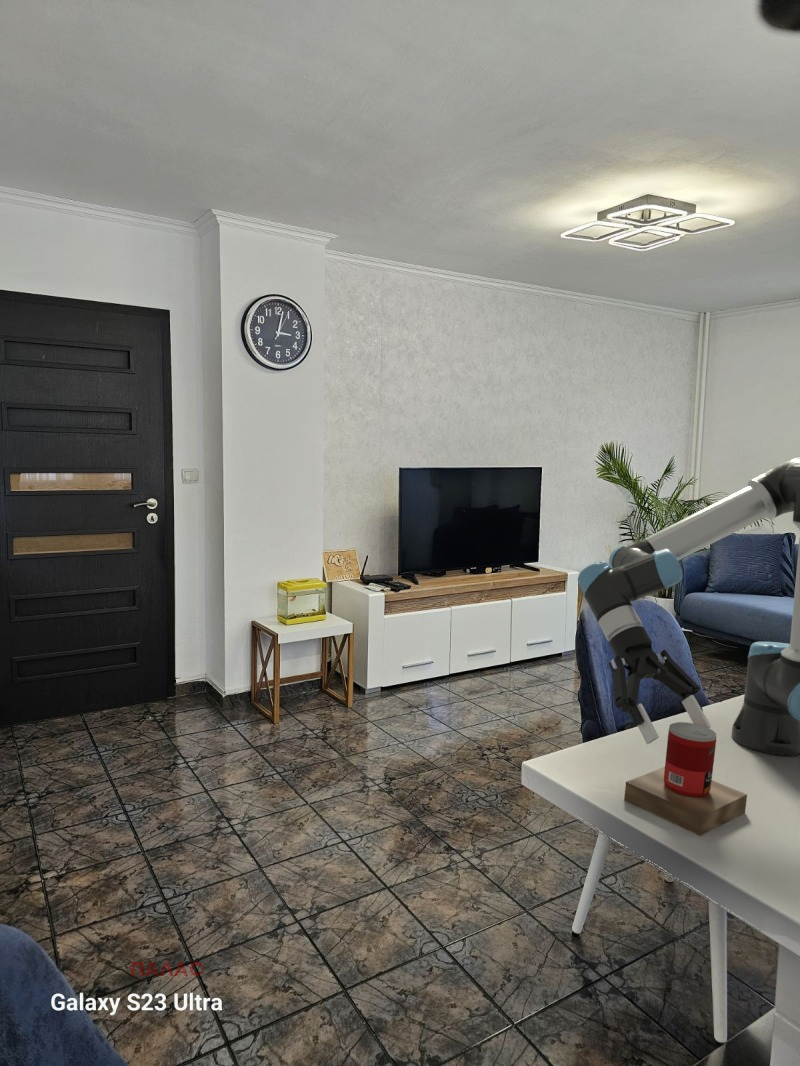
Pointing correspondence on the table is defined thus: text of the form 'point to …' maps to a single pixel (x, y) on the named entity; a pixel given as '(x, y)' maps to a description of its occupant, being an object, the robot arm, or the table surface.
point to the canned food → (689, 759)
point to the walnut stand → (685, 803)
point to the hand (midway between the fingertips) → (679, 735)
